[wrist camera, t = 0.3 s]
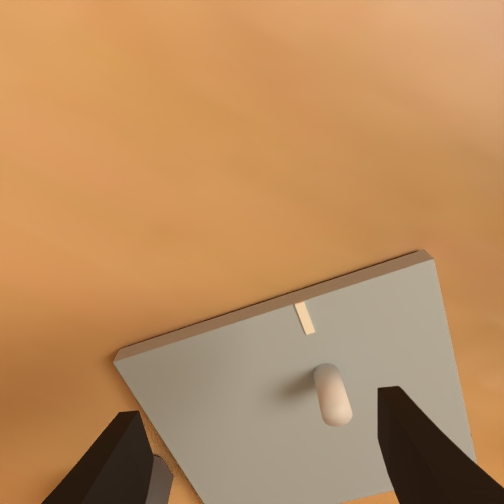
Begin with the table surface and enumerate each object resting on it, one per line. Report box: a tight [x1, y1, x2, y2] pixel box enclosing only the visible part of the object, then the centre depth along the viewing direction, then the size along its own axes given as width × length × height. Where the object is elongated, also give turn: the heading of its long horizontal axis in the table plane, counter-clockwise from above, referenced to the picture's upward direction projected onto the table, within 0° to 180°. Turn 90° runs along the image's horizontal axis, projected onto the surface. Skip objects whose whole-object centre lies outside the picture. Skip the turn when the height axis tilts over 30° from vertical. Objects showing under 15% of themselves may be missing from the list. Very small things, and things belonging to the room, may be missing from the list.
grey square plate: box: [113, 250, 477, 504], centre depth 22 cm, size 16×18×4 cm
